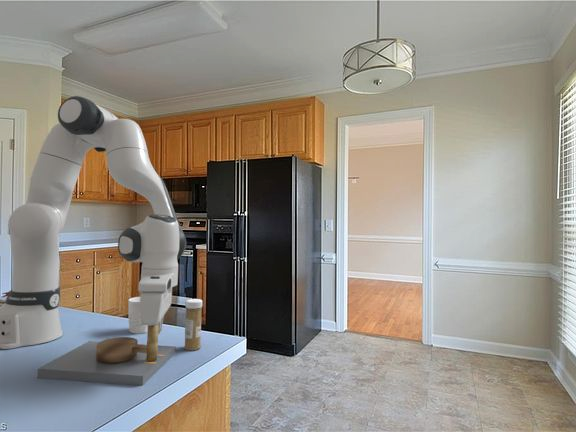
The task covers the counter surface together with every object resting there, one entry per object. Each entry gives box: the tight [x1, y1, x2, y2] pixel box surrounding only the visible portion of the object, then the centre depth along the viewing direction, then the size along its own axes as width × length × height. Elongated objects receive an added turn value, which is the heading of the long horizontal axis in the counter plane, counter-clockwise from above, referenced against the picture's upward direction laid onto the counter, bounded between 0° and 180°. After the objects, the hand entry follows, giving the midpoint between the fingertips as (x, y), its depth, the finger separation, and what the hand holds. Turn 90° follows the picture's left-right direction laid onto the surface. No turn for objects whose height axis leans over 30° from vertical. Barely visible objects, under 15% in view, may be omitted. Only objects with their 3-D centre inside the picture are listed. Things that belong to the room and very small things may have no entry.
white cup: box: [127, 296, 148, 335], centre depth 112 cm, size 8×8×10 cm
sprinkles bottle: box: [184, 298, 203, 351], centre depth 99 cm, size 5×5×14 cm
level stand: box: [36, 340, 176, 386], centre depth 86 cm, size 24×18×2 cm
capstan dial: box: [96, 325, 159, 363], centre depth 85 cm, size 15×9×8 cm, turn 82°
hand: (157, 332), depth 89 cm, fingers closed
